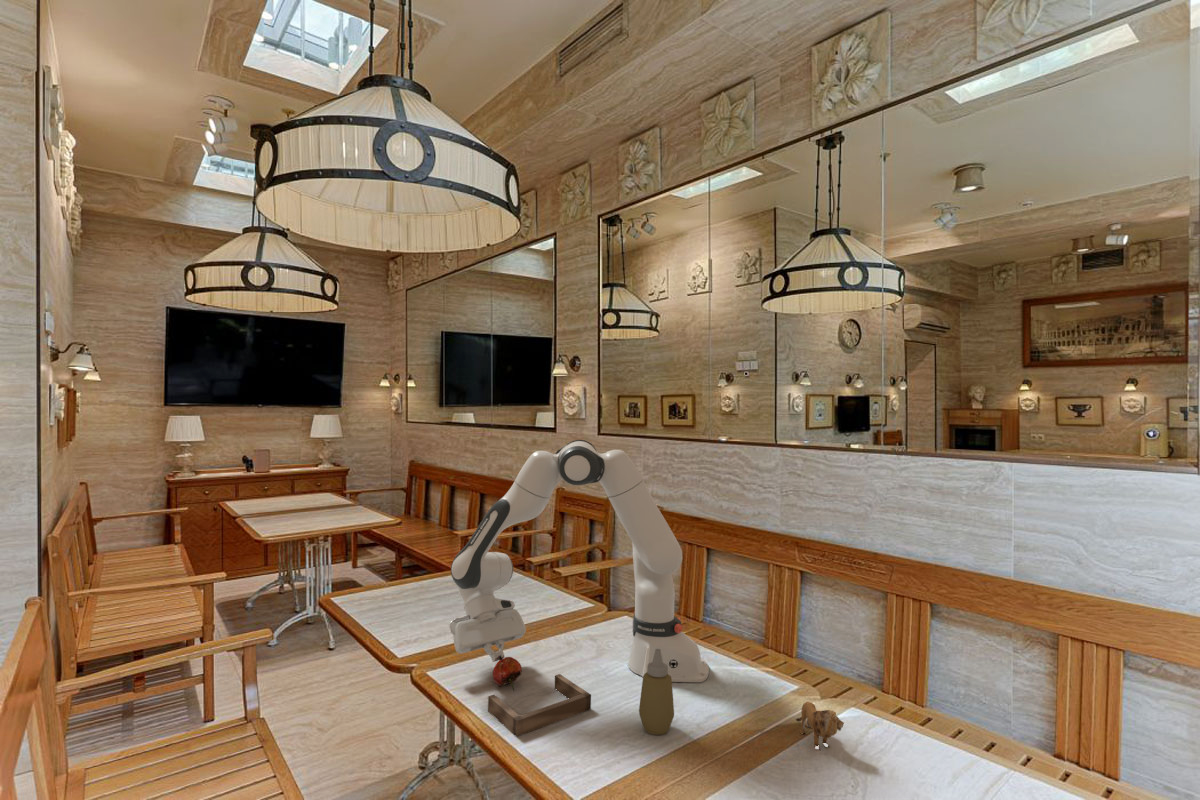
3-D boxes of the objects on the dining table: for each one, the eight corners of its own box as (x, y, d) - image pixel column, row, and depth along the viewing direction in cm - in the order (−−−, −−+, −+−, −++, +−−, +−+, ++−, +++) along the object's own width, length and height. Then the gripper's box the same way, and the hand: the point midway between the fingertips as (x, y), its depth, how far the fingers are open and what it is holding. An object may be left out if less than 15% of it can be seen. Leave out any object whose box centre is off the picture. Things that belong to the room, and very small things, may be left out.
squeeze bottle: (672, 740, 132) (674, 659, 132) (636, 735, 134) (637, 655, 134) (675, 721, 140) (677, 644, 140) (640, 717, 142) (642, 641, 142)
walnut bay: (487, 710, 143) (488, 696, 143) (559, 687, 156) (559, 673, 156) (516, 736, 132) (517, 720, 132) (590, 709, 145) (591, 694, 145)
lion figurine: (846, 756, 128) (847, 714, 128) (825, 760, 127) (826, 717, 127) (805, 720, 142) (806, 682, 142) (785, 723, 141) (786, 685, 141)
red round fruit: (525, 693, 157) (513, 658, 164) (529, 678, 153) (517, 643, 159) (497, 702, 154) (487, 666, 160) (501, 687, 149) (490, 651, 156)
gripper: (451, 614, 160) (466, 664, 152) (518, 600, 173) (535, 645, 165) (444, 626, 164) (458, 675, 156) (510, 611, 176) (526, 656, 168)
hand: (498, 659), depth 160 cm, fingers closed
